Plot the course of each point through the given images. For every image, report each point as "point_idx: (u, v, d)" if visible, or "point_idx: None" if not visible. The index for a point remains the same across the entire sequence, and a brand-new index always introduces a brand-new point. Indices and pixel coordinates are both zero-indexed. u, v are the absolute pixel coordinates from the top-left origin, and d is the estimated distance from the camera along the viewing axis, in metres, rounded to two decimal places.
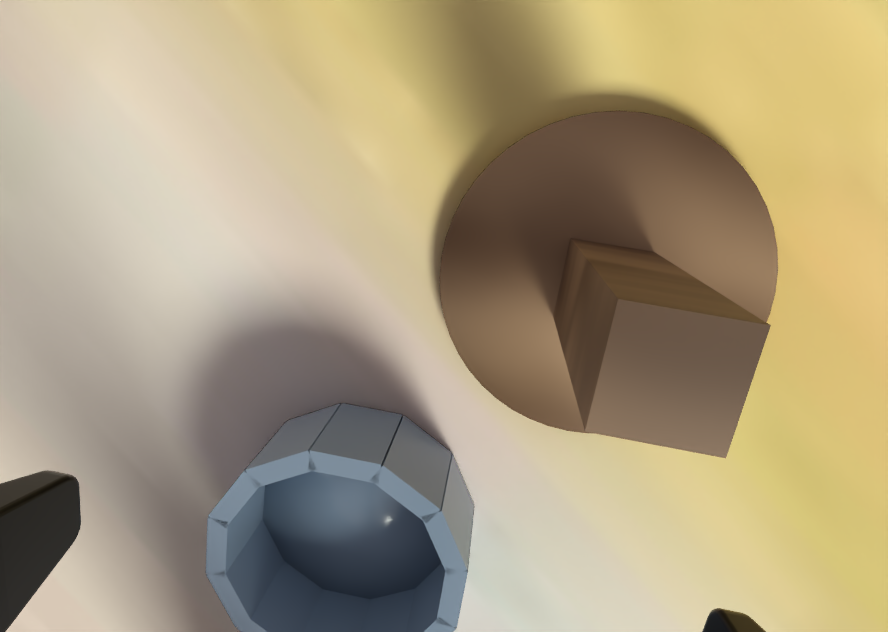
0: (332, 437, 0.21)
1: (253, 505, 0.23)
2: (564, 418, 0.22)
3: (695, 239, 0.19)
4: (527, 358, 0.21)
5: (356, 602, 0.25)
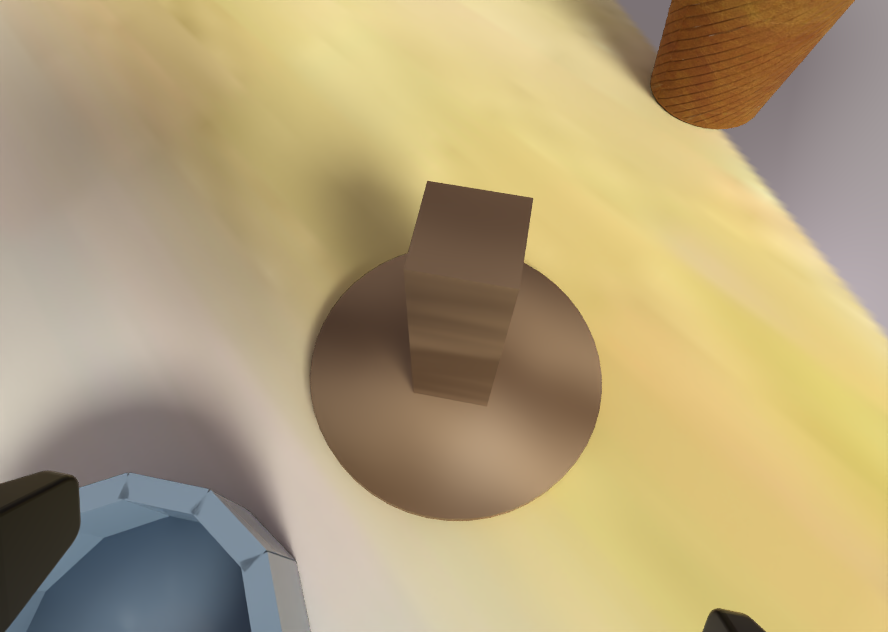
0: None
1: None
2: (423, 500, 0.20)
3: (529, 331, 0.24)
4: (387, 433, 0.21)
5: None
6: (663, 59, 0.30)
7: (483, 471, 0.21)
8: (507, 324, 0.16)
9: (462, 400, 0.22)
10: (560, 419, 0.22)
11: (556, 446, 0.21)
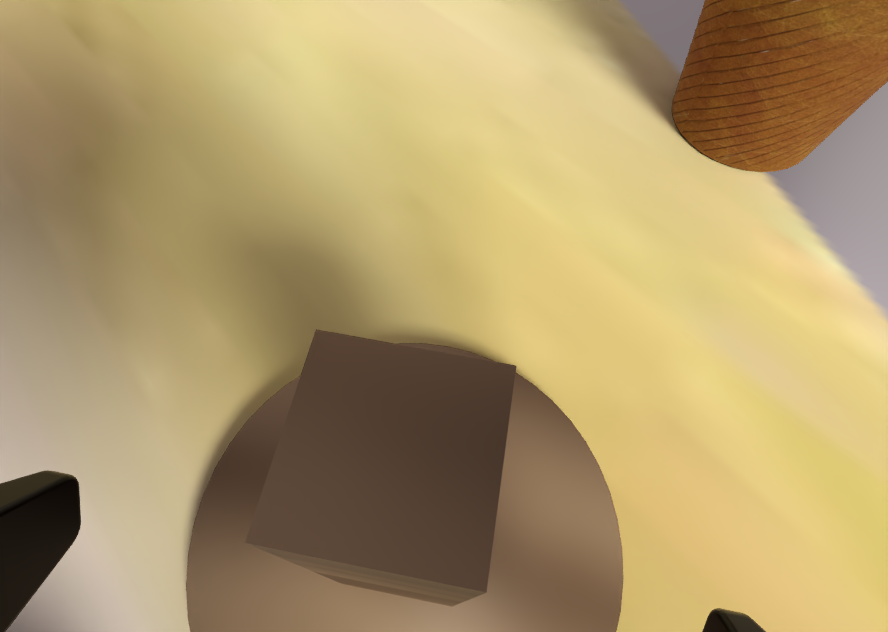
0: None
1: None
2: None
3: (516, 477, 0.16)
4: None
5: None
6: (692, 82, 0.23)
7: None
8: (469, 596, 0.08)
9: (414, 599, 0.15)
10: (563, 627, 0.15)
11: None
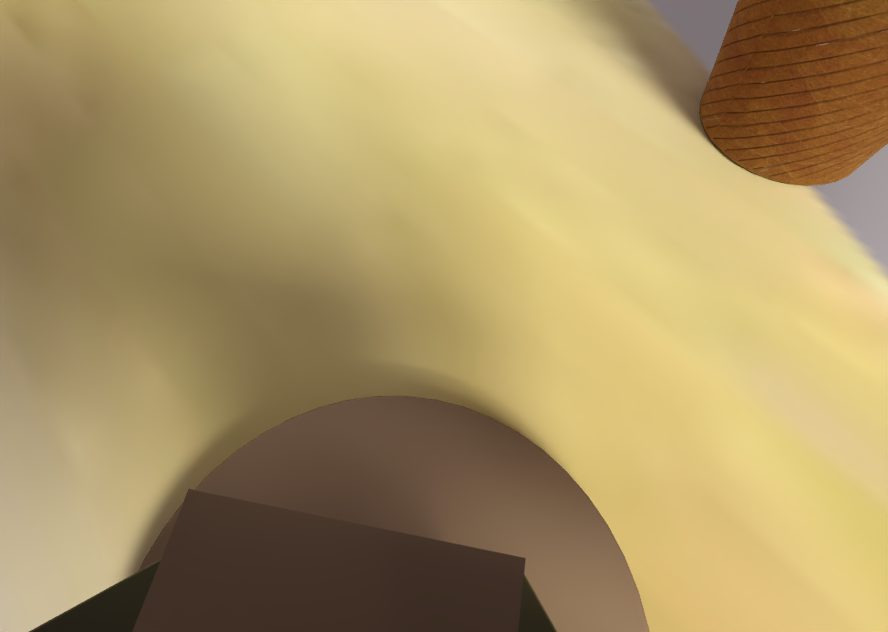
0: None
1: None
2: None
3: None
4: None
5: None
6: (727, 81, 0.19)
7: None
8: None
9: None
10: None
11: None
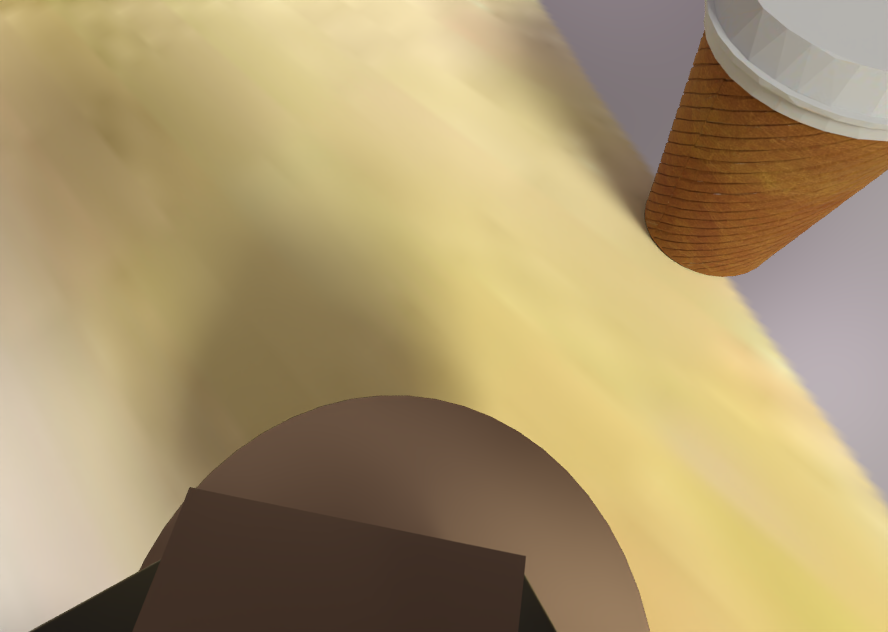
0: None
1: None
2: None
3: None
4: None
5: None
6: (659, 200, 0.25)
7: None
8: None
9: None
10: None
11: None
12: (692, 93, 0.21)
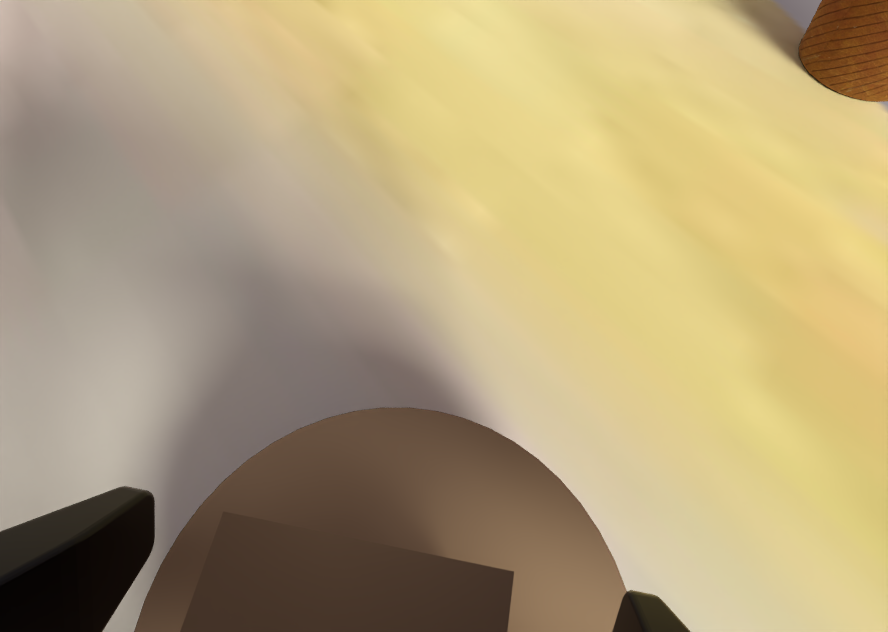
0: None
1: None
2: None
3: (516, 576, 0.14)
4: None
5: None
6: (826, 29, 0.29)
7: None
8: None
9: None
10: None
11: None
12: None
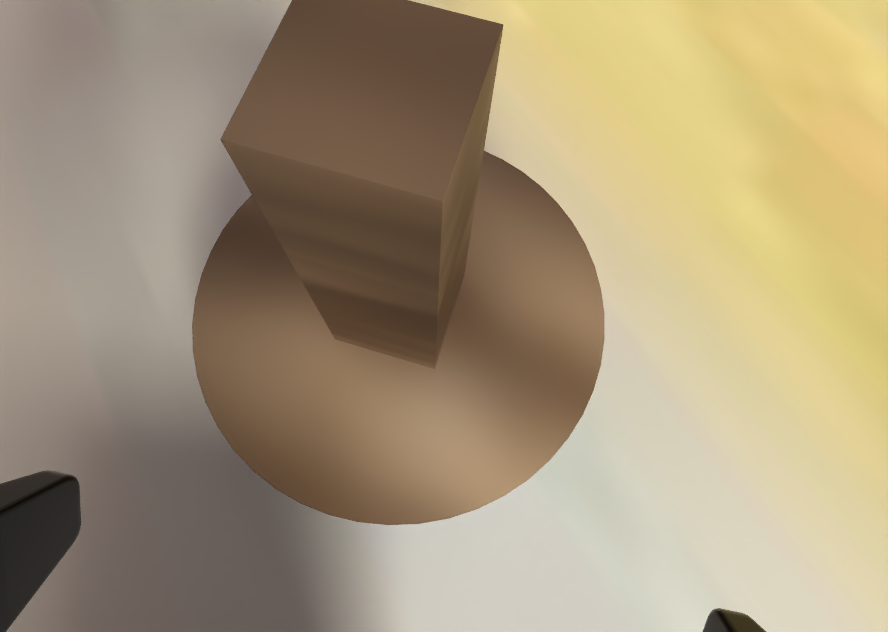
0: None
1: None
2: (327, 493, 0.15)
3: (511, 268, 0.17)
4: (290, 392, 0.15)
5: None
6: None
7: (416, 460, 0.15)
8: (436, 264, 0.09)
9: (400, 357, 0.16)
10: (537, 397, 0.15)
11: (524, 435, 0.15)
12: None
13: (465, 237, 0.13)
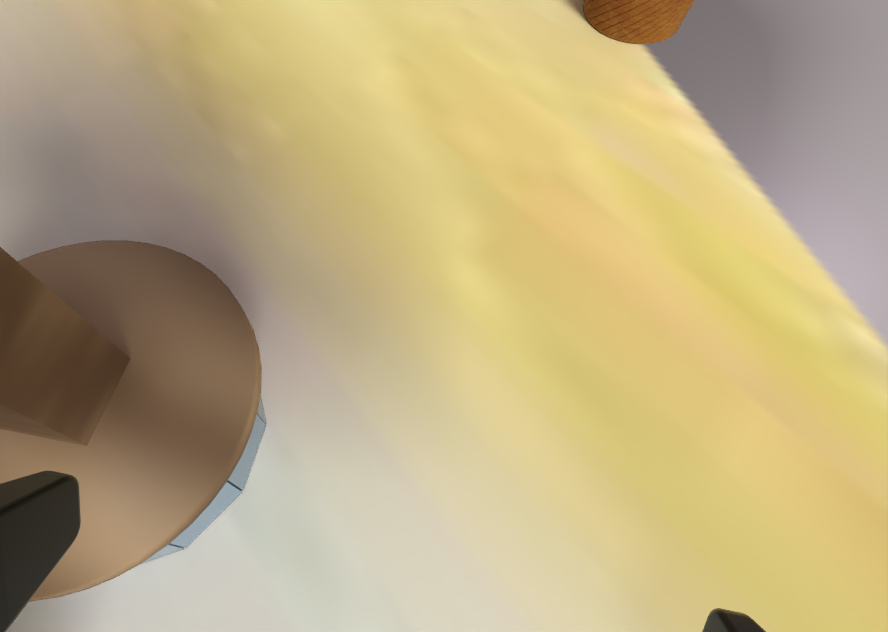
0: None
1: None
2: None
3: (175, 347, 0.19)
4: None
5: None
6: None
7: None
8: None
9: (52, 438, 0.17)
10: (179, 462, 0.17)
11: (161, 499, 0.16)
12: None
13: (46, 323, 0.15)
